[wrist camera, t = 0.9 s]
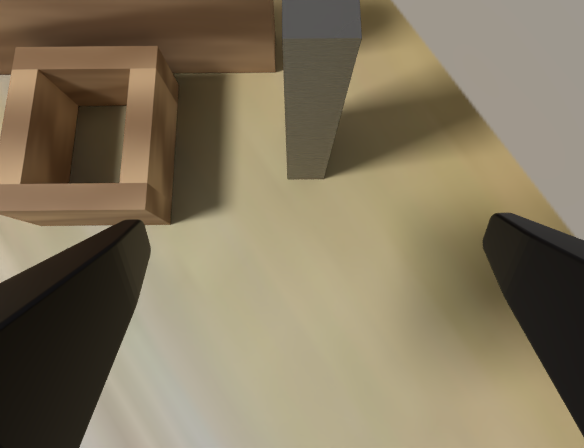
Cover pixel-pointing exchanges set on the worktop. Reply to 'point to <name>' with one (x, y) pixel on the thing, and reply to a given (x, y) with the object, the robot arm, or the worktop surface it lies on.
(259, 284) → the worktop surface
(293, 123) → the grey bar
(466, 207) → the worktop surface
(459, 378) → the worktop surface
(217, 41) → the wooden socket
